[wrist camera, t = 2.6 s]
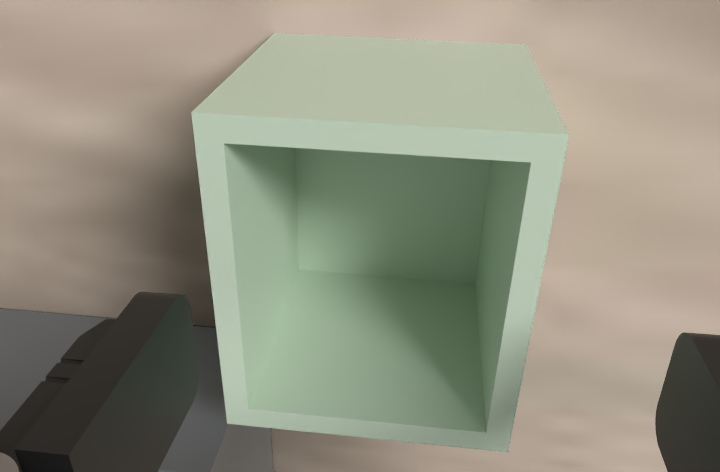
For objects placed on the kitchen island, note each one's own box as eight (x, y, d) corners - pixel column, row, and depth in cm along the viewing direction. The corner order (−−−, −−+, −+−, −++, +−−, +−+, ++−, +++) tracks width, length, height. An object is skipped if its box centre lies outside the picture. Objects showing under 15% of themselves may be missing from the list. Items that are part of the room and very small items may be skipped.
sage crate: (286, 273, 19) (226, 423, 14) (275, 32, 16) (191, 112, 10) (489, 289, 19) (507, 452, 13) (526, 43, 15) (568, 134, 10)
